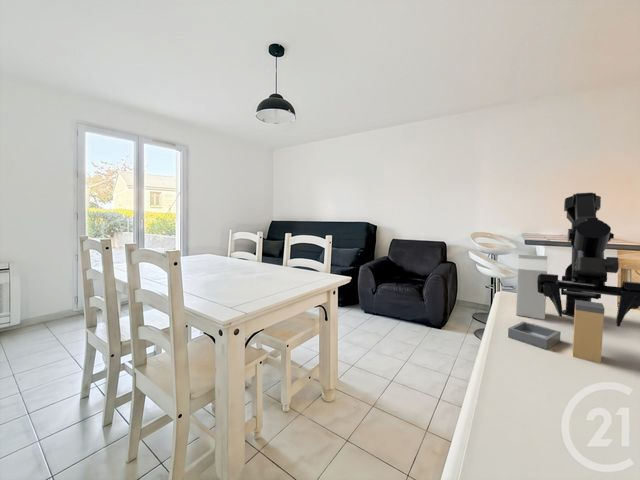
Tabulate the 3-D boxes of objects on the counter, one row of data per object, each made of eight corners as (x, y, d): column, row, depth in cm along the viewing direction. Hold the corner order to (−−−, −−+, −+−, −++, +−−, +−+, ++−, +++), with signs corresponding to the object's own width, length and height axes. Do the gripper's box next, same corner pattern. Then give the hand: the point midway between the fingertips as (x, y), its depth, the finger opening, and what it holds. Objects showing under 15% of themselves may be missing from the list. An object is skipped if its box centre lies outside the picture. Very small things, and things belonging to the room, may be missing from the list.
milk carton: (544, 320, 82) (547, 257, 81) (515, 315, 87) (518, 256, 85) (543, 313, 88) (546, 254, 86) (516, 309, 92) (518, 253, 91)
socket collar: (522, 329, 76) (523, 321, 76) (560, 340, 69) (560, 331, 69) (507, 337, 72) (508, 328, 72) (546, 349, 65) (546, 340, 65)
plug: (572, 349, 65) (575, 299, 64) (598, 355, 62) (602, 303, 61) (572, 356, 62) (575, 304, 60) (600, 363, 59) (604, 308, 58)
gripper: (539, 242, 70) (534, 294, 62) (653, 246, 57) (663, 311, 50) (540, 267, 76) (535, 317, 69) (642, 276, 64) (650, 338, 57)
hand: (588, 320), depth 61 cm, fingers open, 9 cm apart
